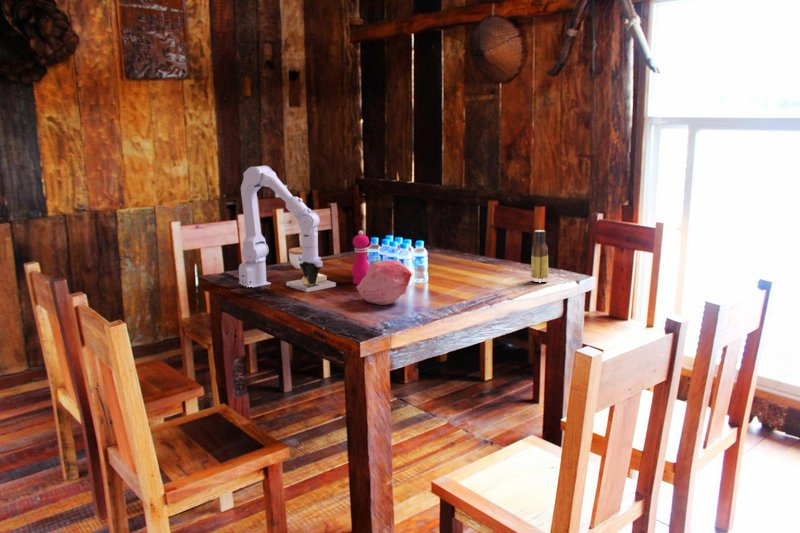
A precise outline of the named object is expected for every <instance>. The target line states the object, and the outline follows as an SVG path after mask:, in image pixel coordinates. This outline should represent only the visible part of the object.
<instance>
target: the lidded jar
mask: <svg viewBox="0 0 800 533" xmlns="http://www.w3.org/2000/svg"><path fill="white" fill-rule="evenodd" d="M298 255H302V244H301V245H300V246H299V247H291V248H289V249H288V257H289V261H290V264H291V266H293V267H294V269H297V270H302V269H301V267H300V264H301V263H303V261H298Z"/></svg>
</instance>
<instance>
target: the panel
mask: <svg viewBox="0 0 800 533" xmlns="http://www.w3.org/2000/svg"><path fill="white" fill-rule="evenodd" d="M285 282H286V283H285V284H286V287H290V288H293V289H296V290H298V291H303V292H304V293H305V292H306V293H309V292H315V291H319V290H324V289H330V288H335V287H336V286H337V283H336V282H335V281H331V280H329V279H328V280H323V281H319V282H316V283H315V284H313V286H312V287H308V284H303V283H302V278H301V279H296V280H295V279H294V280H289V281H285Z"/></svg>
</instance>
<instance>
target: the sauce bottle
mask: <svg viewBox="0 0 800 533" xmlns="http://www.w3.org/2000/svg"><path fill="white" fill-rule="evenodd" d="M533 234H534V243H533V244H532V247H531V256H530V257H531V264H530V265H531V266H530V267H531V268H530V270H531V272H530V274H531V275H530V276H531V277H533V278H538V279H540V278H541V279H543V278H547V279H548V278H549V252H548V251H549V247H548V245H547V243H546V230H543V229H537V230H534V233H533Z"/></svg>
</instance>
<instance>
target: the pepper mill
mask: <svg viewBox="0 0 800 533" xmlns="http://www.w3.org/2000/svg"><path fill="white" fill-rule="evenodd" d="M352 244H353V246H354V252H355V259H354V263H353V265H352V268H351V275H352V276H353V278H352V283H353V284H354V285H359V284H360V282H361V281H362V279H363V277H365V276H366V271H367V270H368V269H369V267H370V264H369V261H368V258H367V253H368V252H369V251H368V249H369V246H368V245H369V244H370V239H369V237H368V236H367V235H365V234H364V231H363V230H359V231H358V234H357V235H355V236H354V237H353V239H352Z"/></svg>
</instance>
